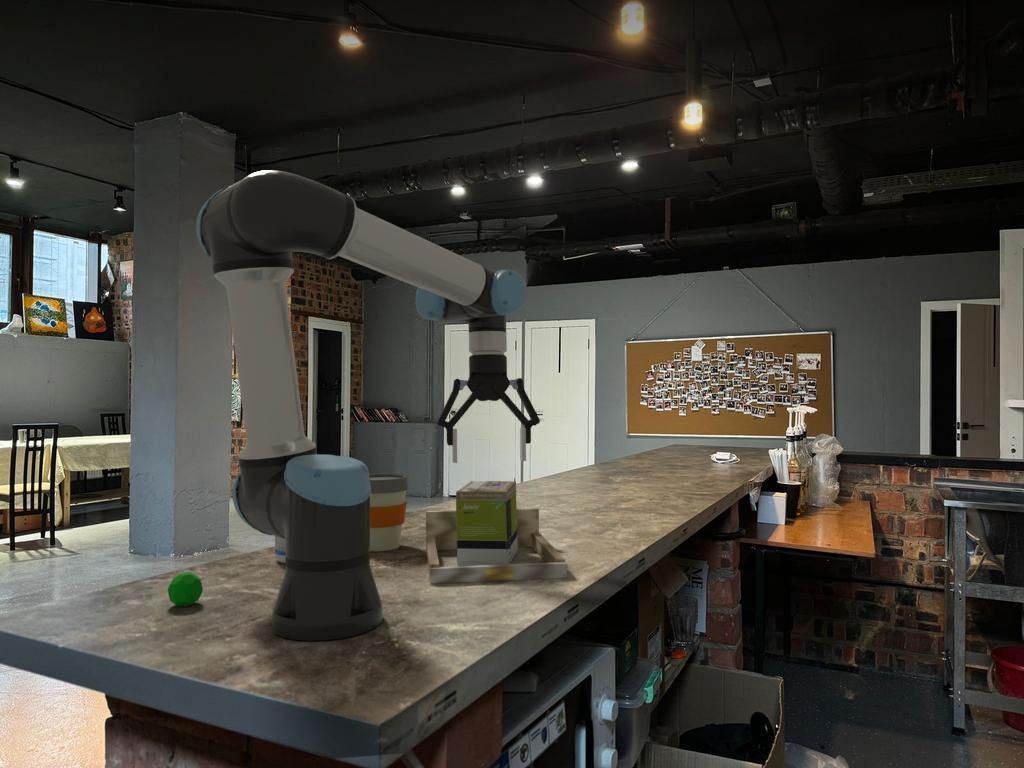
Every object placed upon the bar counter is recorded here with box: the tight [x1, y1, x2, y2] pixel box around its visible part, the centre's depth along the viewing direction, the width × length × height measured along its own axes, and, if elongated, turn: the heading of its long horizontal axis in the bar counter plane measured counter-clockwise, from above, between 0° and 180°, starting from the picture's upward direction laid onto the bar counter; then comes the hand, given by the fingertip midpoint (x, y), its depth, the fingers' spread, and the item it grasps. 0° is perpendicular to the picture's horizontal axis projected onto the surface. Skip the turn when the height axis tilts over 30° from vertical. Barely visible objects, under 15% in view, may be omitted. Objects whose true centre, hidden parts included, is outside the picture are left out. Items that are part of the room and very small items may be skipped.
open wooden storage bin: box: [425, 507, 568, 585], centre depth 136 cm, size 24×28×8 cm
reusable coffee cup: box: [369, 473, 409, 552], centre depth 151 cm, size 13×13×15 cm
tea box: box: [455, 480, 519, 566], centre depth 139 cm, size 15×10×15 cm, turn 172°
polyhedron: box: [167, 572, 204, 607], centre depth 109 cm, size 5×5×5 cm
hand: (489, 461), depth 139 cm, fingers open, 13 cm apart
